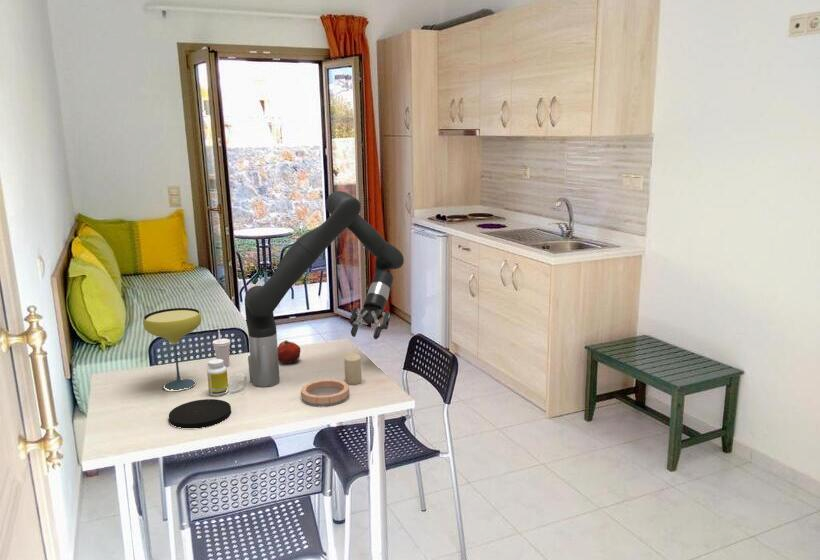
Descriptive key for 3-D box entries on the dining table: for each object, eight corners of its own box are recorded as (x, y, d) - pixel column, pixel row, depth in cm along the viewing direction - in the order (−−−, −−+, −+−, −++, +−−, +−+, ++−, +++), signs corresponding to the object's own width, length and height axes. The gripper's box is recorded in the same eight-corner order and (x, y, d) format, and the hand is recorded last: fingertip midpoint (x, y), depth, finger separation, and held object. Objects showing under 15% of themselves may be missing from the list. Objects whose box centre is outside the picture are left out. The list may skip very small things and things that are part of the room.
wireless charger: (242, 416, 193) (241, 410, 192) (185, 436, 181) (185, 429, 180) (213, 400, 205) (213, 394, 205) (159, 417, 193) (158, 411, 193)
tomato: (293, 356, 245) (292, 336, 243) (306, 362, 238) (304, 341, 237) (271, 361, 239) (270, 341, 238) (283, 368, 232) (282, 346, 231)
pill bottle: (232, 391, 211) (230, 359, 209) (218, 398, 206) (215, 365, 204) (219, 388, 215) (216, 356, 212) (205, 394, 209) (202, 362, 207)
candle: (359, 385, 215) (357, 356, 212) (343, 384, 216) (341, 356, 213) (363, 379, 220) (362, 351, 218) (348, 378, 221) (346, 350, 219)
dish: (292, 401, 202) (291, 392, 202) (320, 385, 215) (319, 376, 214) (331, 409, 195) (331, 400, 195) (357, 392, 208) (357, 383, 208)
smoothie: (214, 364, 238) (211, 328, 235) (232, 362, 239) (229, 326, 236) (214, 370, 232) (211, 333, 229) (233, 368, 233) (229, 331, 230)
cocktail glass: (138, 392, 212) (130, 320, 206) (174, 374, 229) (167, 306, 223) (184, 398, 206) (176, 324, 201) (217, 379, 223) (211, 309, 217)
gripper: (355, 290, 231) (341, 329, 223) (391, 293, 225) (379, 333, 217) (362, 301, 237) (349, 340, 229) (398, 304, 231) (385, 344, 223)
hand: (364, 337), depth 223 cm, fingers open, 8 cm apart
